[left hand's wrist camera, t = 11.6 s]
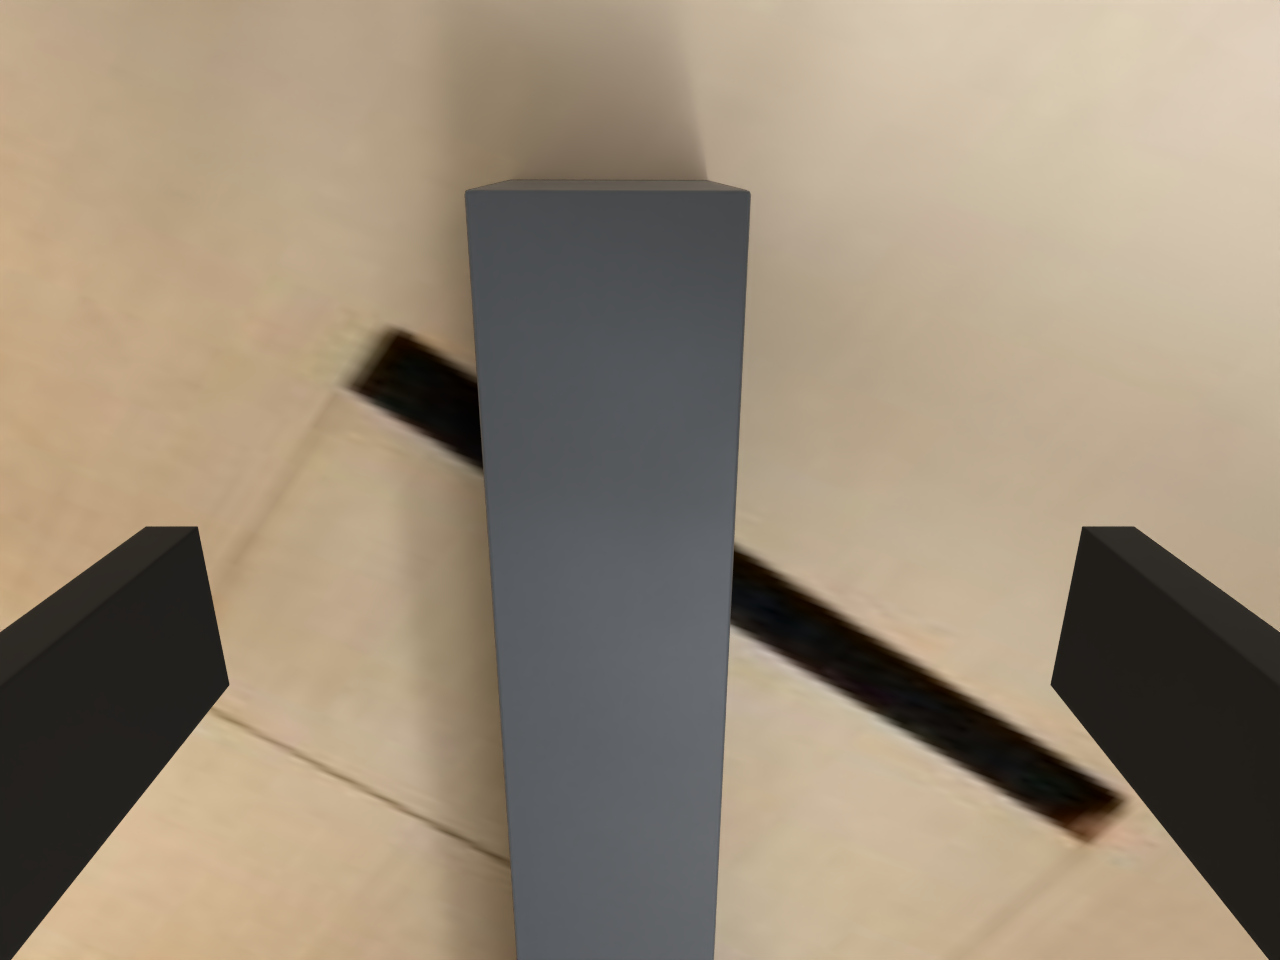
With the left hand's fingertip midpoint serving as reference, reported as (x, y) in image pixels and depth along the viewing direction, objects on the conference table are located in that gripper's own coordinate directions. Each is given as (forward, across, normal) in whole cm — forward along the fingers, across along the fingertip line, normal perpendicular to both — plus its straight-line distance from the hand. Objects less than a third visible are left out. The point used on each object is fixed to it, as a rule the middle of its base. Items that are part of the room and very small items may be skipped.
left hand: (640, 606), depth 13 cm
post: (+14, -1, -21) cm, 25 cm away
